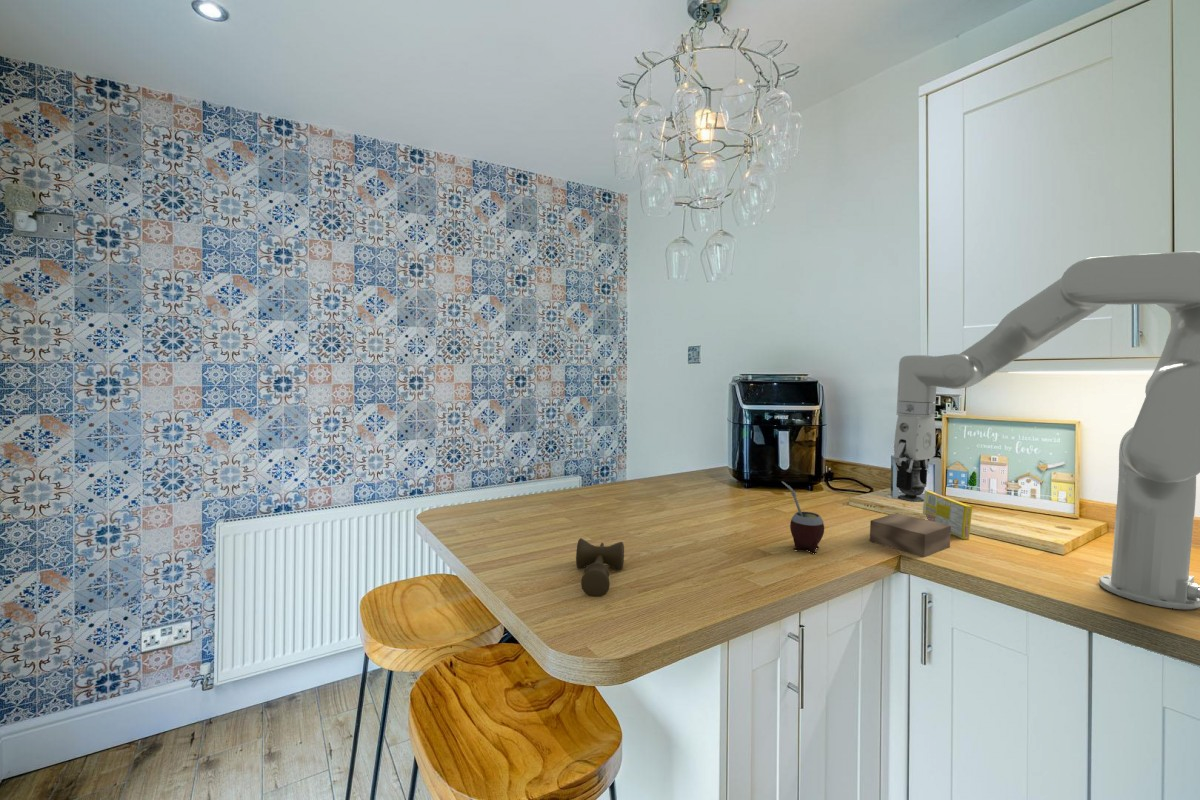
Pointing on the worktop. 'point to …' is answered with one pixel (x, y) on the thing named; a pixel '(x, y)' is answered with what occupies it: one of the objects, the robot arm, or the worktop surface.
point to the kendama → (598, 565)
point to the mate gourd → (805, 528)
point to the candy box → (948, 513)
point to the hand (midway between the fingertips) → (911, 486)
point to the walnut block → (910, 534)
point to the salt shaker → (914, 485)
